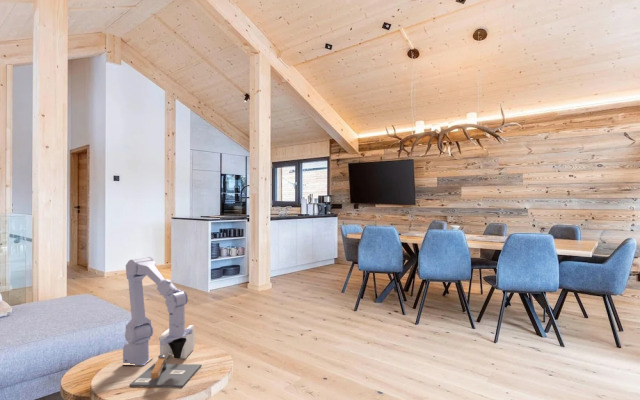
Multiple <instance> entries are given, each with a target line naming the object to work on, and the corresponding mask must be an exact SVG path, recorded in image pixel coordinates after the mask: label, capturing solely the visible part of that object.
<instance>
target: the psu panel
mask: <svg viewBox="0 0 640 400" xmlns="http://www.w3.org/2000/svg"><path fill="white" fill-rule="evenodd" d="M155 364H156V363H153V364H152V365H151V366H150V367H149V368H148V369H146V370H145V371H144V372H143V373H141V374H140V375H139V376H138V377H136V378H135V379H134V380H133V381H132V382H131V383H129V387H130V386H131V387H134V388H136V387H137V388H138V387H139V388H140V387H141V388H183V389H184V387H185V386H186V384H188V382H189V381H190V380H191V379H192V378H193V376H194V375H195V374H196V373H197V372H198V371H199V370H200V369H201V368H202V364H193V363H192V364H191V363H189V364H188V363H186V364H185V363H166V366H167V369H166V370H163V371H161V373H160V375H159V377H158V378H154V379H151V372H152V370H153V368H154V366H155ZM131 387H130V388H131Z"/></svg>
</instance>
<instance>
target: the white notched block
mask: <svg viewBox="0 0 640 400" xmlns="http://www.w3.org/2000/svg"><path fill="white" fill-rule="evenodd" d="M188 328H189V329H192V334H188V335H186V337H184V338H186V342H185V344H184V346H183V349H182V352H181V357H180V359H183V360H186V358H187V357H189V355H190V354H191V353H192V352H193V351H194V348H195V341H196V340H195V339H196V338H195V325H194V324H190V325H188V326H187V328H185V329H188ZM168 335H169V328H167V329H166V330H164V332H162V333H161V335H160V336H159V355H163V354H165V355H166V360H167V359H168V358H170V357H173V352H172V350H171V348H170V346H169V344H166V345H165V346H163V345H161V340H162V339H164V338H165V337H166V336H168Z"/></svg>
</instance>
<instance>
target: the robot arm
mask: <svg viewBox="0 0 640 400" xmlns="http://www.w3.org/2000/svg"><path fill="white" fill-rule="evenodd" d="M125 274H126V276H125V277H126V279H127V281H128V282H127V283H128V291H129V305H130V314H131V319H130V320H129V322H127V323H126V325H125V333H124V339H125V341H126V342H125V343H124V345H123V348H122V364H123V363H130V364H135V365H144V366H146V365H147V364H148V363H147V361H148V360H149V357H150V356H149V355H150V354H149V353H150V352H149V351H150V350H149V349H150V348H149V345H150V340H151V337H152V336H153V334H154V327H153V325H152V319H150V318H148V317H147V316H146V311H145V310H146V309H145V300H144V297H145V296H144V288H143V279H144V278H145V277H148V278H149V279H150V280H151V281H153V282H154V284H155V285H156V290H157V291H158V293H160V295H161V296H162V297H163V298H164V299H165V304H166V308H167V312H168V329H169V335H168V336H166V337H165V338H164V339H162V340H161V345H163V346H165V345H166V344H169V346H170V348H171V350H172V352H173V353H172V357H173V358H174V359H175V360H176V359H181V352H182V349H183V346H184V344H185V342H186V338H184V337H186V335H188V334H192V329H189V328H188V329H186V328H185V327H186V325H185V317H186V316H185V313H186V312H185V307H186V305H187V303H188V301H189V297H188V295H187V292H186V291H185V290H181V289H179V288H177V286H176V285H175V284H174V283H173V282H172V280H171V279H168V278H167V279H165V278H164V276H163V275H162V274H161V272H160V271H159V270H158V268H157V263H156V261H155V260H154V258H153V257H152V256H151V257H150V256H148V257H142V258H137V259H136V258H135V259H130V260H128V261H127V263H126V264H125ZM146 363H147V364H146ZM145 364H146V365H145Z"/></svg>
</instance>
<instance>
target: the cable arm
mask: <svg viewBox="0 0 640 400" xmlns="http://www.w3.org/2000/svg"><path fill="white" fill-rule="evenodd" d="M157 358H158V359H157V361H156V363H154V364H155V366H154V368H153V370H152V372H151V379H154V378H158V377H159V375H160V373H161V371H163V370H166V369H167V366H166V364H167V359H166V355H165V354H163V355H160V354H159V355H158V357H157Z"/></svg>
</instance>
